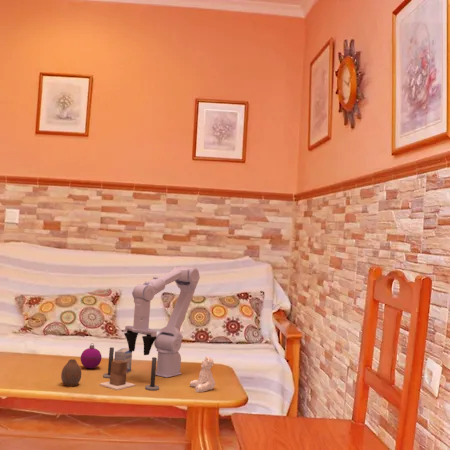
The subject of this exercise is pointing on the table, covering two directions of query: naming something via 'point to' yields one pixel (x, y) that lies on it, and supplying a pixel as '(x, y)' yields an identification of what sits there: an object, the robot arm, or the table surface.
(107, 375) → the post
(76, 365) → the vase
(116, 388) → the white pad
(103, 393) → the table surface
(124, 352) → the medicine box
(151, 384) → the post
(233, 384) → the table surface
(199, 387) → the seated beast figurine
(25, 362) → the table surface
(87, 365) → the christmas ornament
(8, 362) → the table surface
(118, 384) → the walnut block
